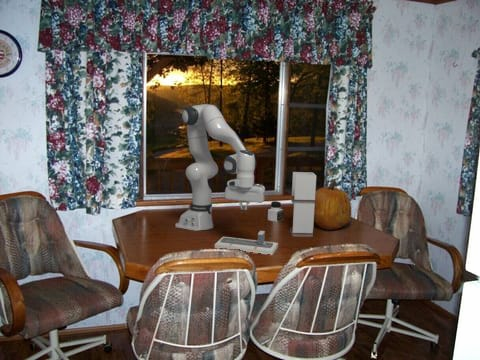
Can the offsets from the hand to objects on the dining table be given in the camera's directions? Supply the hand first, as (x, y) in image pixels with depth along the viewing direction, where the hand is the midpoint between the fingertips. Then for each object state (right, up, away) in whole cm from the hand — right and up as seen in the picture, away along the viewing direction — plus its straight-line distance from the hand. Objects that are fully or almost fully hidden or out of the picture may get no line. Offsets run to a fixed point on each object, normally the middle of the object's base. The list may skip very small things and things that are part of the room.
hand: (243, 209), depth 229 cm
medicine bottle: (+21, -11, +58) cm, 62 cm away
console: (+1, -20, +3) cm, 20 cm away
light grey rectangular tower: (+33, -16, +30) cm, 47 cm away
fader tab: (+9, -18, 0) cm, 20 cm away
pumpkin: (+52, -14, +45) cm, 70 cm away
